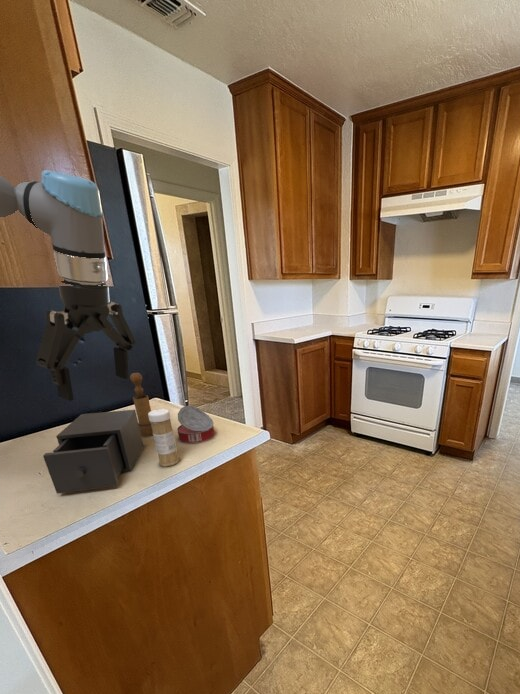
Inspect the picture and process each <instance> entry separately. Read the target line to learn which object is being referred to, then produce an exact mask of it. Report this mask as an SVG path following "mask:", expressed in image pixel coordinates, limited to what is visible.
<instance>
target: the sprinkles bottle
mask: <svg viewBox="0 0 520 694" xmlns="http://www.w3.org/2000/svg"><path fill="white" fill-rule="evenodd" d="M148 417H149V421H150V423H151V426H152V430H153V435H152V436H153V440H154V441H153V442H154V445H155V448H156V450H155V451H156V453H157V457H158V460H159V461H158V462H159V466H162V467H171V466H174V465H176V464H178V463H179V461H180V459H179V455H178V452H177V443H176V439H175V434H174V429H173V427H172V421H171V411H170V410H169V409H167V408H158V409H153V410H151V412H149V413H148Z"/></svg>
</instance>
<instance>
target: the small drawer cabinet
mask: <svg viewBox="0 0 520 694" xmlns="http://www.w3.org/2000/svg"><path fill="white" fill-rule="evenodd" d="M138 423H139V421H138V417H137V412H136V409H125V410H112V411H104V412H103V411H102V412H101V411H100V412H92V413H82V414H80V415H79V416H77V417H76V418H75V419H74V420H73V421H72V422H70V423H69V424H67V426H66V427H65V428H64V429H62V430H61V431H60V432H59V433H58V434H56V436H55V437H56V439H57V442H58V446H59V445H60V444H61V443H62V442H63V441H64V440H65V439H66V438H76V437H86V436H96V435H106V434H116V433H117V435H118V439H119V443H120V447H121V450H122V454H123V458H124V462H125V466H124V467H123V469H122V471H121V472H120V473H128V472H131V471H132V469H133V468H134V466H135V464H136V462H137V460H138V458H139V456H140V454H141V453H142V451H143V449H144V447H145V445H144V444H145V443H144V440H143V437H142V436H141V432H140V428H139V424H138Z"/></svg>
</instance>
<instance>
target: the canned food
mask: <svg viewBox="0 0 520 694" xmlns="http://www.w3.org/2000/svg"><path fill="white" fill-rule="evenodd" d="M177 420H178V422H179V424H180V425H179V426H177V428H176V431H177V437H178V440H179V442H180V443H184V444H199V443H204V442H207V441H209V440H211V439H213V438H214V437H215V434H216V433H215V428H214V421H213V418H211V416H210V415H209V414H207V413H206V412H205V411H203V410H201V409H200V408H199V407H197V406H194V405H185V406H183V407H181V408H179V411H178V412H177Z"/></svg>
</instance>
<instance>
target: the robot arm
mask: <svg viewBox="0 0 520 694" xmlns="http://www.w3.org/2000/svg"><path fill="white" fill-rule="evenodd" d="M32 181H33V182H31V181H30V182H23V183H20V184H18V185H17V187H14V186H11V184H10V183H9V182H8V181H6V180H5V178H3V177H2V176H0V217H6V216H8V215H11V214H13V213H15V211H17V210H19V212H20V213H21V214H22V215H23V216H25V218H26V219H27V220H28V221H29V222H30V223H32V224H33V225H34V226H35V225H36V226H37V227H36V226H35V227H36V228H39V229H40V230H42V231H43V232H45V233H47V234H49V235H48V236H49V237H50V240H51V245H52V251H54V250H55V251H54V253H53V259H54V258H55V260H54V263H55V262H56V266H57V271H58V274H59V275H58V274H57V275H58V276H59V277H60V276H61V277H62V278H64V281H61V282H62V283H65V284H71V285H73V286H59V285H58V289H59V290H58V291H59V296H60V299H61V302H62V303H63V305H64V307H63V311H55V310H53V309H47V310H46V314H45V315H46V325H45V329H44V332H43V336H42V338H41V343H40V346H39V349H38V353H37V357H36V361H35V363H36V365H37V366H40V367H43V368H45V369H48V370H49V371H50V376H51V382H52V383H53V384H55V385H56V388H57V389H56V390H57V395H58V397H59V398H62V399H64V400H66V401H70V402H71V401H73V400H74V393H73V388H72V387H73V386H72V380H71V375H70V369H69V367H67V366H66V364H67V362H68V361H69V359H70V358H71V357H70V356H71V355H72V354H73V351H74V349H76V346H77V344H78V342H79V340H80V339H82V338H84V336H85V334H91V333H93V332H100V331H102V333H104V334H105V335H106V337H108V338H109V339H110V340H111V341H112V343H114V344H115V345H116V346H115V347H113V357H114V369H115V370H114V371H115V376H116V377H119V378H122V379H124V380H128V379H130V376H129V361H130V355H129V353H130V352H131V351H133V349H134V346H135V345H136V344H137V340H136V338H135V336H134V334H133V331H132V330H131V328H130V326H129V324H128V322H127V320H126V318H125V315H124V314H123V307H122V304H121V303H117V302H113V301H111V300H110V288H109V285H108V286H103V285H107V284H108V283H107V282H106V281H107V280H108V268H107V257H106V250H105V235H104V221H103V217H104V213H103V210H102V209H103V208H102V203H101V196H100V189H99V187H98V186H97V184H96V182H94V181H92V180H90V179H88V178H84V177H80V176H77V175H72V174H67V173H63V172H59V171H54V170H51V169H50V170H49V169H44V170H42V171H41V180H40V181H38V182H37V180H36V181H35V180H32ZM30 214H31V215H30ZM31 217H32V218H31ZM32 219H33V221H34V222H33V221H32ZM34 223H35V224H34ZM56 251H57V252H56ZM58 252H60V253H58ZM61 253H63V254H61ZM65 254H67V255H65ZM69 255H72V256H69ZM74 256H78V257H74ZM81 257H86V258H81ZM91 258H99V259H91ZM98 285H101V286H98ZM108 317H109V318H110V319H111V322H112V323H113V324H112V323H111V322H110V321H109V320H108ZM73 328H74V329H73ZM115 328H116V329H115ZM129 351H130V352H129Z"/></svg>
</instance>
